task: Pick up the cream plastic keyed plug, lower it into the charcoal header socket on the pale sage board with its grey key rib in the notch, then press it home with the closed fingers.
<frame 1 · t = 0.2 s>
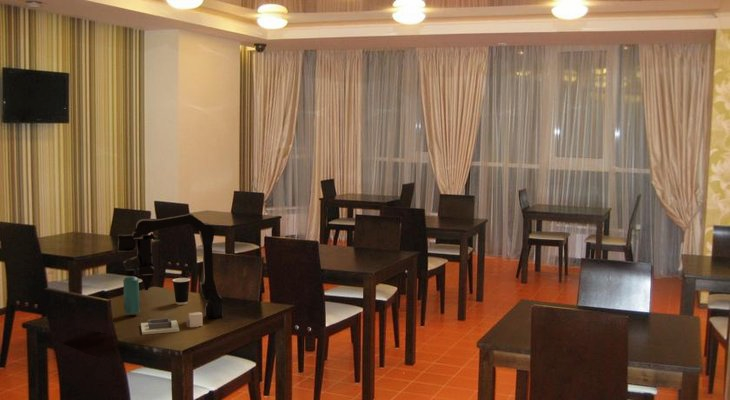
hand: (146, 288, 307), 14 cm above the table, fingers open, 9 cm apart
header board: (159, 328, 299), on the table
beverage bottle: (132, 316, 319), on the table
dixie cup: (181, 303, 341), on the table
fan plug: (195, 325, 303), on the table
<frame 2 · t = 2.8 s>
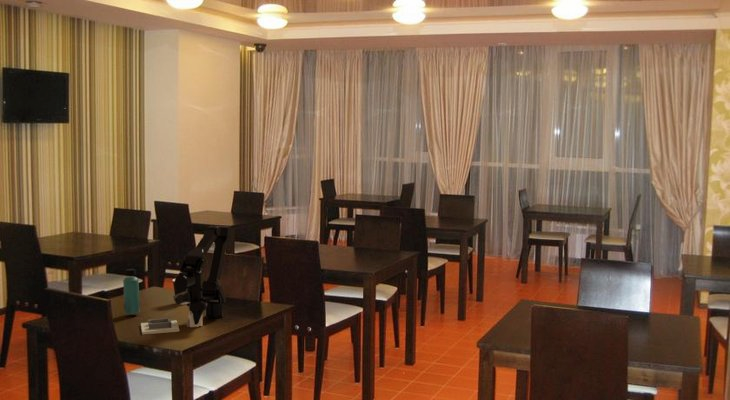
hand: (195, 323, 303), 1 cm above the table, fingers closed on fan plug, 4 cm apart
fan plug: (195, 325, 303), on the table, touching gripper
everything else where it was.
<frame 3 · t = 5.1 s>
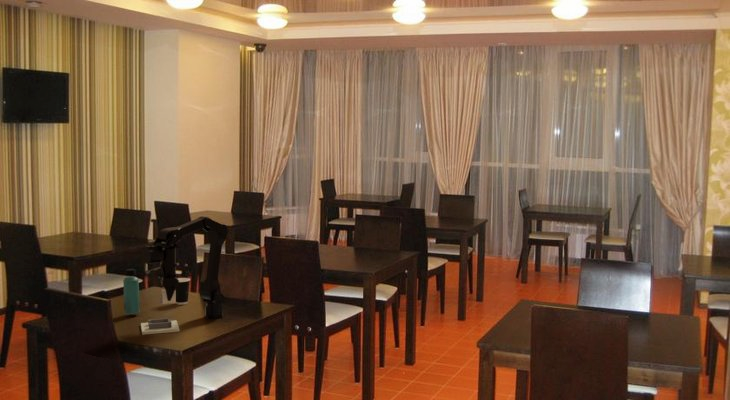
hand: (168, 299, 299), 11 cm above the table, fingers closed on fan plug, 4 cm apart
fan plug: (168, 302, 299), point 10 cm above the table, touching gripper
everything else where it was.
when the fingers open (3 cm above the table, at t = 7.5 s): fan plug drops 1 cm, resting on header board.
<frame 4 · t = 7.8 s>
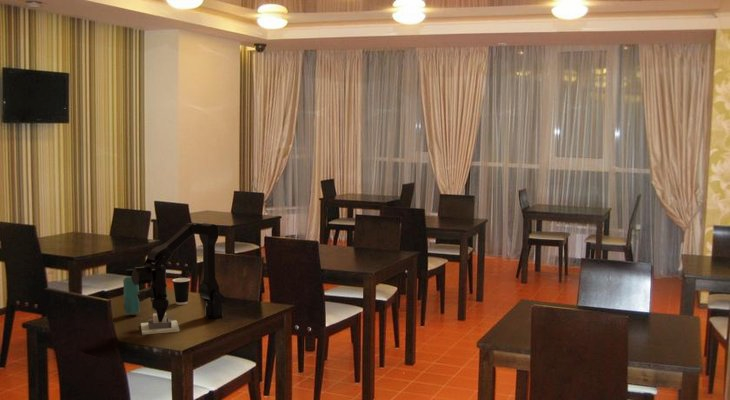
hand: (159, 319, 299), 3 cm above the table, fingers open, 7 cm apart
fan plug: (159, 326, 299), point 1 cm above the table, touching header board
everything else where it was.
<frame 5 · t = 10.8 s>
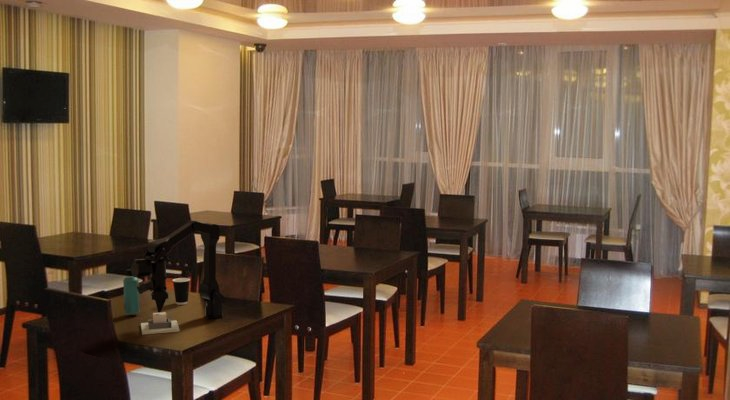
hand: (159, 312, 298), 7 cm above the table, fingers closed
nothing on the table moved.
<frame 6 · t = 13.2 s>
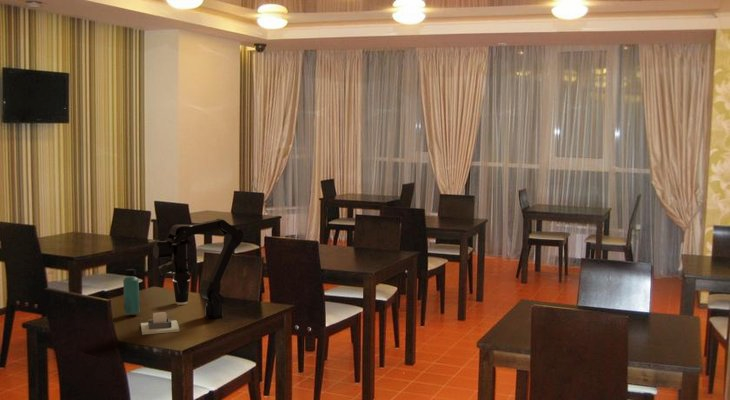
hand: (180, 293, 307), 12 cm above the table, fingers closed
nothing on the table moved.
at the end: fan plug 0.0 cm off-centre on the header board, point 1.0 cm above the header board's base; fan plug tilted 0°; the gripper is holding nothing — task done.
